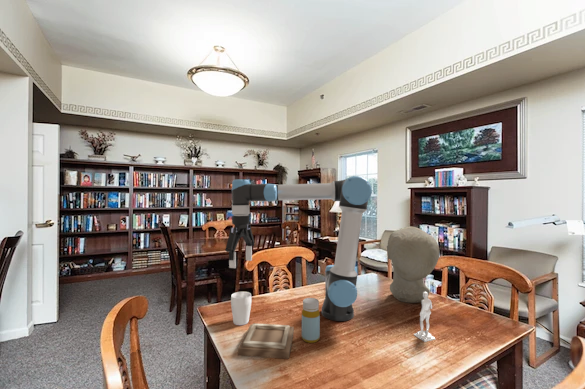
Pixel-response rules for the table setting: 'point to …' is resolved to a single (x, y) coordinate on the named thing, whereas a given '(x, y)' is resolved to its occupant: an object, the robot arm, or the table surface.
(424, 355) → the table surface
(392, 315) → the table surface
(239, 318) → the cup
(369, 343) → the table surface
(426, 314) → the figurine
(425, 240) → the bust
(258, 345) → the plinth
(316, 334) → the bottle
